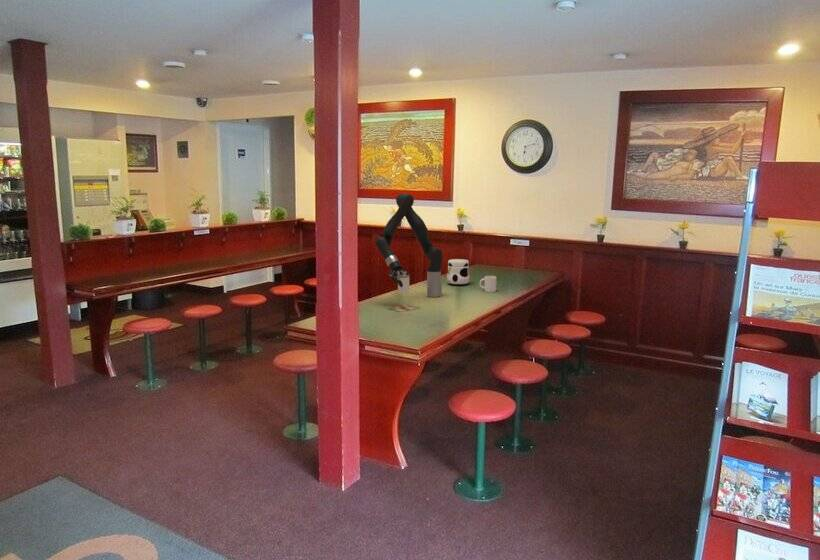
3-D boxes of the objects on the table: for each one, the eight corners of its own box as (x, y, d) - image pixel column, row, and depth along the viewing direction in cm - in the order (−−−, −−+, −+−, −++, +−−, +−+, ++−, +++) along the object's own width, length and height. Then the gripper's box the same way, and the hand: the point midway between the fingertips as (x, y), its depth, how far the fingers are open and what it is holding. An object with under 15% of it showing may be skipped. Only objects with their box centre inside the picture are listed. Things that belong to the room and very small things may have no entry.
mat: (407, 304, 367) (407, 304, 367) (419, 308, 358) (419, 307, 358) (387, 308, 357) (387, 308, 357) (399, 312, 348) (399, 311, 348)
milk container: (442, 283, 436) (442, 259, 433) (462, 281, 443) (462, 258, 440) (453, 287, 421) (454, 263, 417) (474, 285, 428) (474, 261, 425)
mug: (477, 291, 406) (478, 277, 404) (480, 289, 414) (480, 275, 412) (494, 292, 402) (495, 278, 400) (497, 290, 410) (497, 276, 408)
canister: (404, 291, 359) (404, 274, 357) (409, 292, 355) (409, 275, 353) (397, 292, 356) (397, 275, 354) (402, 294, 352) (402, 276, 350)
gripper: (386, 261, 353) (399, 283, 346) (405, 259, 362) (417, 280, 355) (381, 268, 358) (393, 290, 351) (400, 266, 367) (411, 288, 360)
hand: (405, 285), depth 353 cm, fingers closed on canister, 5 cm apart
